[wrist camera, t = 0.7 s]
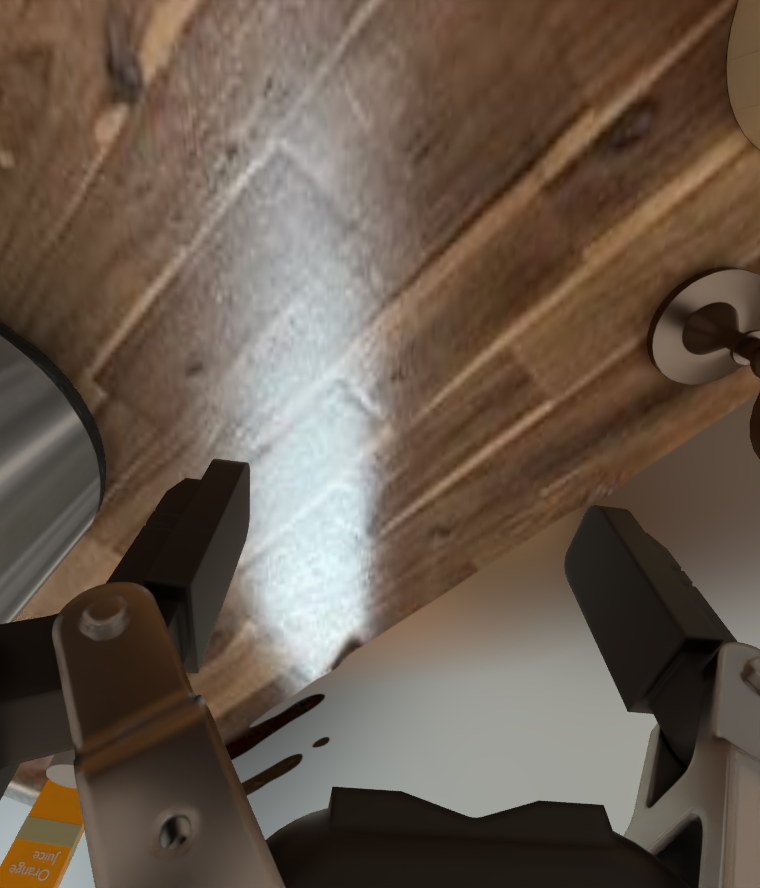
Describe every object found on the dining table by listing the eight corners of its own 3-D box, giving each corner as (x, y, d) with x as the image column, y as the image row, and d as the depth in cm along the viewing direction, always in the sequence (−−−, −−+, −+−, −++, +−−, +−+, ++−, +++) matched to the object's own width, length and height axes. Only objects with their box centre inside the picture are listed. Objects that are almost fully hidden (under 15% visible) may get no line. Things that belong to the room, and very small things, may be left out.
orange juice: (103, 779, 73) (18, 966, 56) (97, 803, 77) (15, 984, 60) (51, 769, 71) (-53, 958, 54) (47, 794, 76) (-51, 978, 58)
